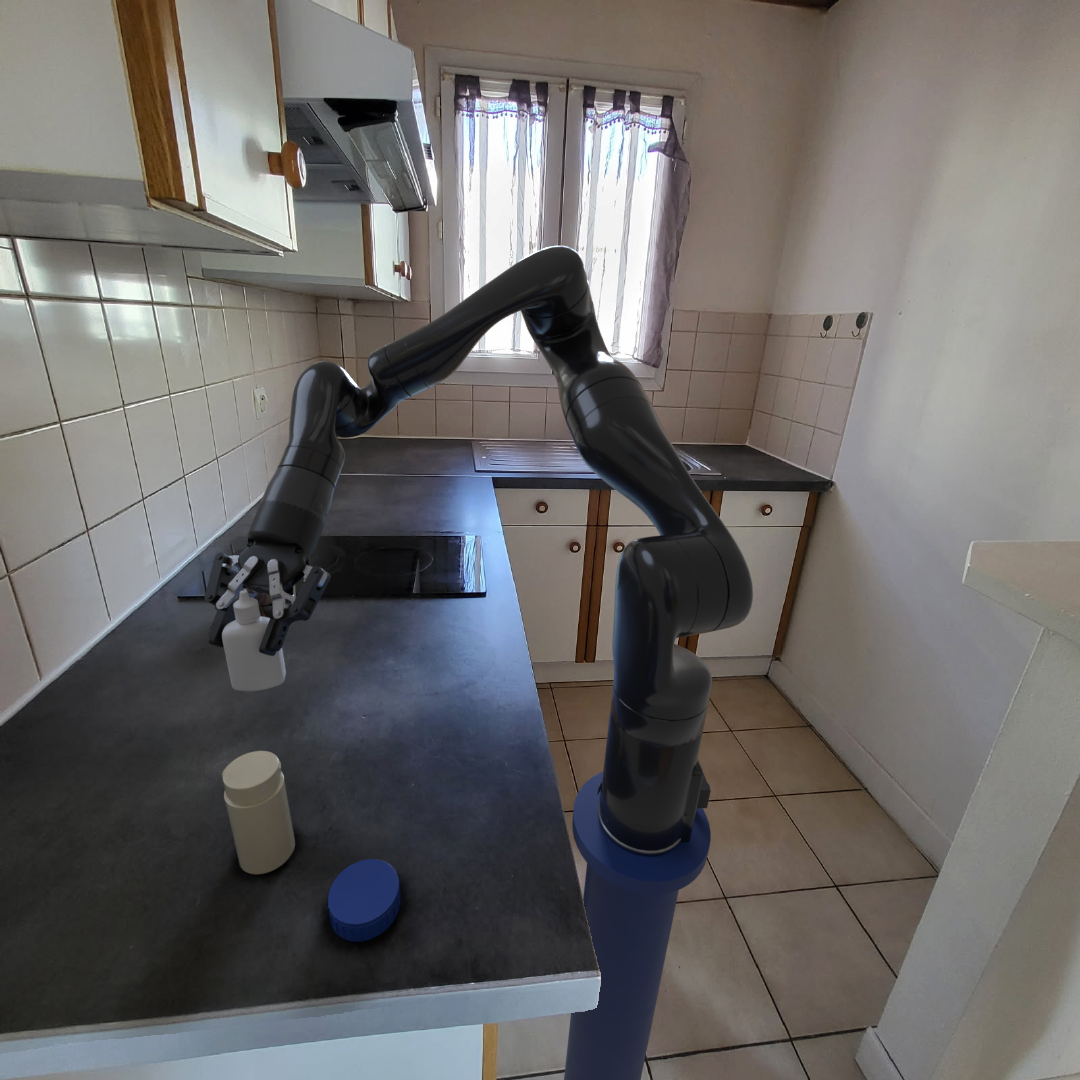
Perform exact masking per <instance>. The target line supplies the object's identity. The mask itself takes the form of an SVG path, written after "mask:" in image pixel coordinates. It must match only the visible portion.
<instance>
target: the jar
mask: <svg viewBox="0 0 1080 1080" xmlns="http://www.w3.org/2000/svg"><path fill="white" fill-rule="evenodd" d="M221 777H222V784H223V788H224V792H223V799H224V803H225V809H226V812H227V817H228V821H229V825H230V826H229V827H230V830H231V835H232V839H233V842H234V847H235V851H236V852H235V853H236V855H237V856H236V857H237V860H238V865H239V867H240V868H241V870H242V871H243V872H245V873H248V874H250V875H263V874H268V873H270V872H273V871H275V870H277V869H279V868H280V867H281V866H283V865H284V864H285V863H286V862H287V861H288V860H289V859H290V858H291V856H292V854H293V852H294V850H295V846H296V838H295V833H294V827H293V821H292V815H291V810H290V805H289V804H290V803H289V797H288V793H287V786H286V781H285V775H284V773H283V771H282V763H281V760H280V759H279V758H278V756H277V755H276V754H275V753H274V752H271V751H267V750H255V751H251V752H246V753H244V754H242V755H240V756H238V757H236V758H235V759H234V760H232V761H231V762H230V763H229V764H227V765H226V767H225V768H224V769H223V771H222V773H221Z"/></svg>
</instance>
